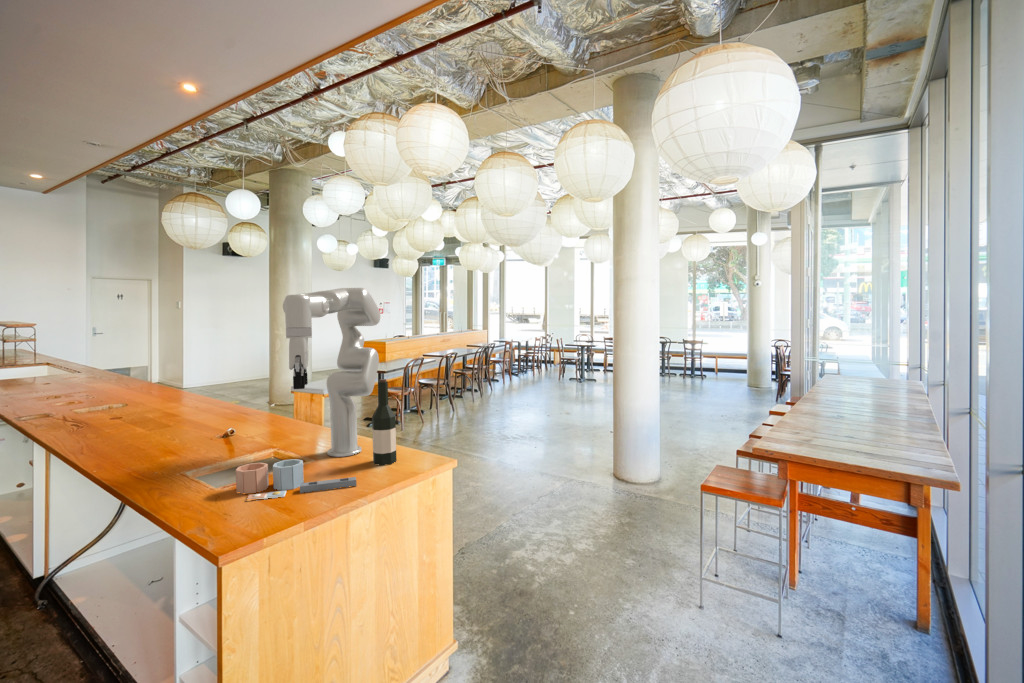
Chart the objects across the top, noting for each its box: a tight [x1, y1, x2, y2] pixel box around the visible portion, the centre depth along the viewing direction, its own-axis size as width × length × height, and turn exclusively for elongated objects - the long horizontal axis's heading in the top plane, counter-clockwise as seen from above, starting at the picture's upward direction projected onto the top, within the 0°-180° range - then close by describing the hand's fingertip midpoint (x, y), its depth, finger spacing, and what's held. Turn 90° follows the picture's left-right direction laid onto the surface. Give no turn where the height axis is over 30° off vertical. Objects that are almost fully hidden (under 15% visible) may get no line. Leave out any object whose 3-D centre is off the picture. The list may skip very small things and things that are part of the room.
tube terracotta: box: [235, 462, 270, 494], centre depth 142 cm, size 8×8×7 cm
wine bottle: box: [371, 378, 397, 466], centre depth 168 cm, size 8×8×30 cm
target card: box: [246, 490, 287, 500], centre depth 137 cm, size 4×10×1 cm, turn 109°
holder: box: [299, 476, 357, 494], centre depth 143 cm, size 3×16×2 cm, turn 109°
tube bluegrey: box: [272, 458, 305, 491], centre depth 146 cm, size 8×8×7 cm
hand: (300, 386), depth 149 cm, fingers open, 9 cm apart
